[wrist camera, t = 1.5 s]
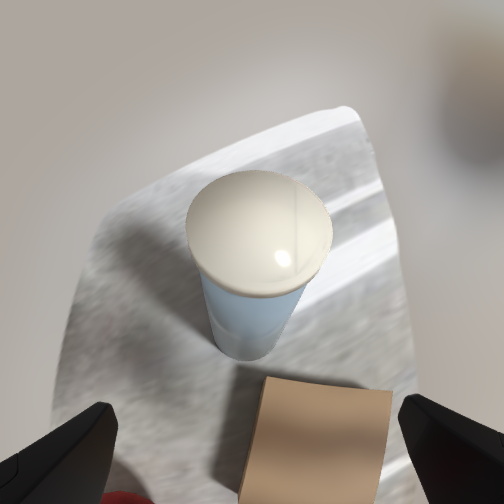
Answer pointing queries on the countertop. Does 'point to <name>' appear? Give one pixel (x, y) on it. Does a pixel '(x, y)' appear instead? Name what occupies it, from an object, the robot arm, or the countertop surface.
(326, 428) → the block
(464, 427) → the robot arm
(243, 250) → the tumbler
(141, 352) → the countertop surface
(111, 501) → the onion
